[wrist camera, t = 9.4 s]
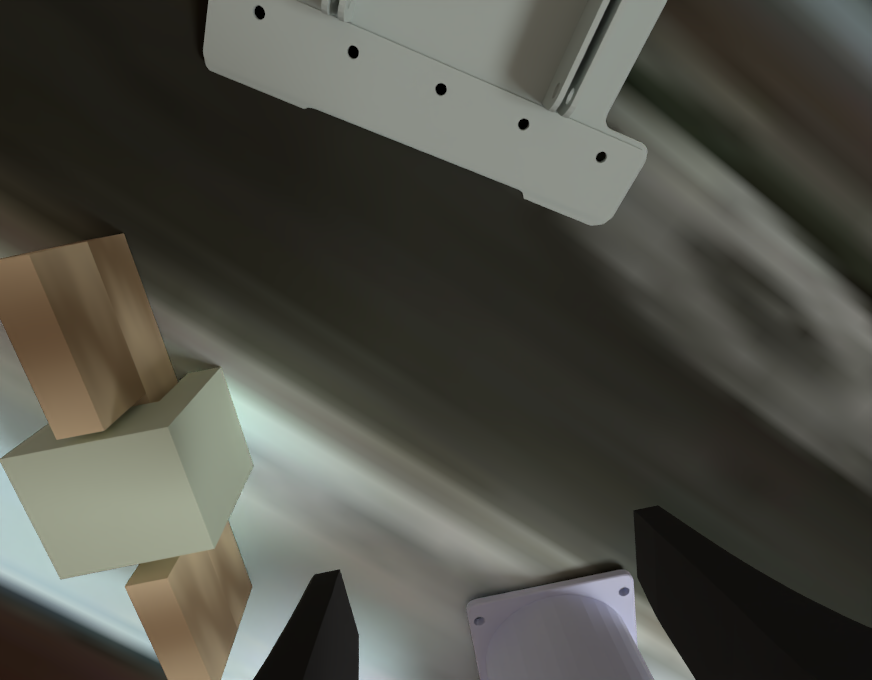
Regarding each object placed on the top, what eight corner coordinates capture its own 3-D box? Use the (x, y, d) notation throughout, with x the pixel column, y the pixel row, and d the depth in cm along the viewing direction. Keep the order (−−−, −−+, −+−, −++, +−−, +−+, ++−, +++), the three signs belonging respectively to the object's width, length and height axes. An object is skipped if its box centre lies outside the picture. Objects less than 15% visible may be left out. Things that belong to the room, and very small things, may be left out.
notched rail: (252, 586, 23) (216, 692, 18) (221, 592, 23) (177, 700, 18) (123, 233, 18) (28, 254, 13) (84, 240, 18) (-26, 264, 13)
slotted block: (253, 465, 21) (214, 548, 17) (134, 488, 21) (60, 579, 17) (221, 366, 20) (167, 426, 15) (92, 391, 20) (-2, 459, 15)
